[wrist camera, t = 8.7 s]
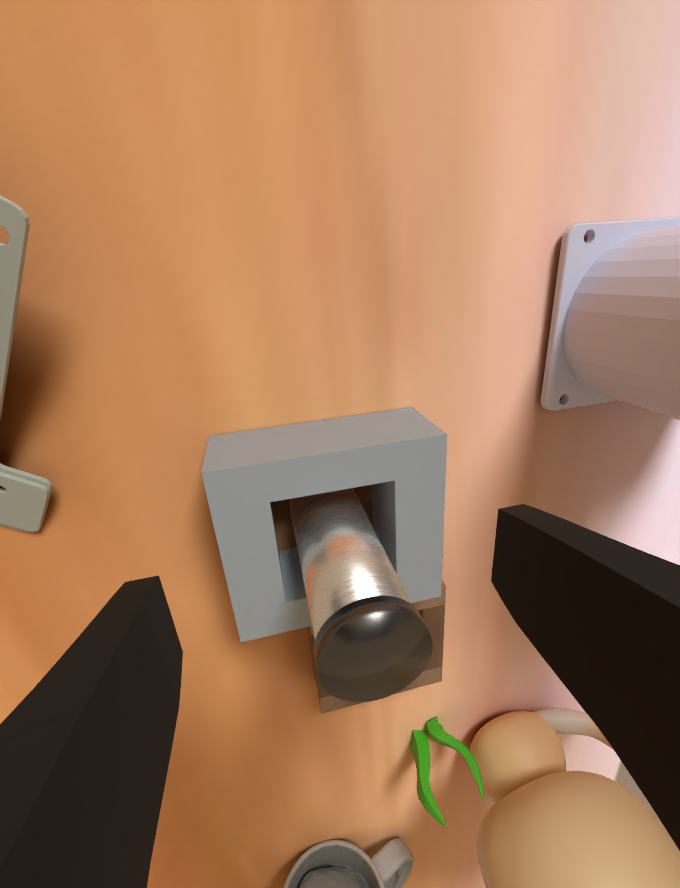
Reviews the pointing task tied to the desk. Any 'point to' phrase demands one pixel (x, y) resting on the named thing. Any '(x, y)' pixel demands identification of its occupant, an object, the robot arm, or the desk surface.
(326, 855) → the ceramic mug
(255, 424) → the desk surface
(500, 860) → the kitten
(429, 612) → the mount
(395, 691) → the pin
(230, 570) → the dock
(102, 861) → the robot arm
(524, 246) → the desk surface
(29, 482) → the metal bracket
